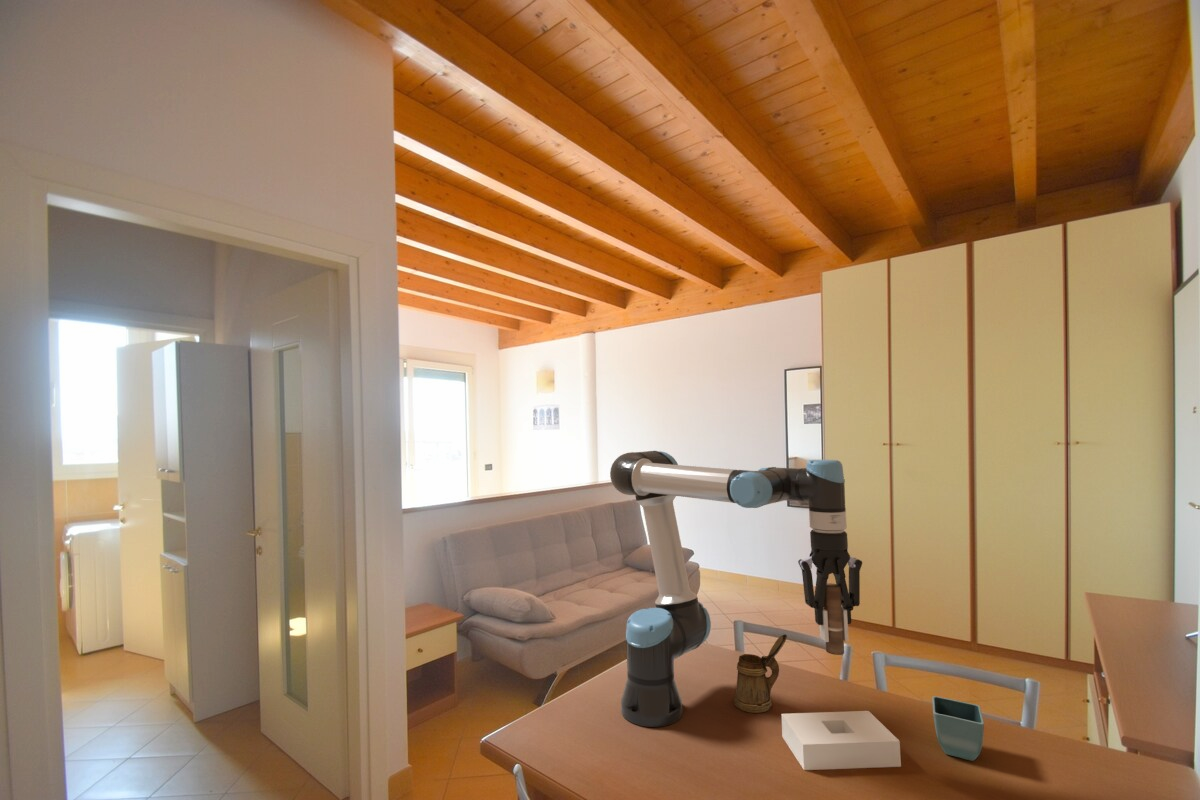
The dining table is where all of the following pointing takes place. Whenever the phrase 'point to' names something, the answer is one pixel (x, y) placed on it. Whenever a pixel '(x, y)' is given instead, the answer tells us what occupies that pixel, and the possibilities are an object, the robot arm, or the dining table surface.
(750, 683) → the wooden mug
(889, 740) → the socket block
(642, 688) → the robot arm
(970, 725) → the flower pot
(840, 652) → the walnut peg
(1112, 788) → the dining table surface
